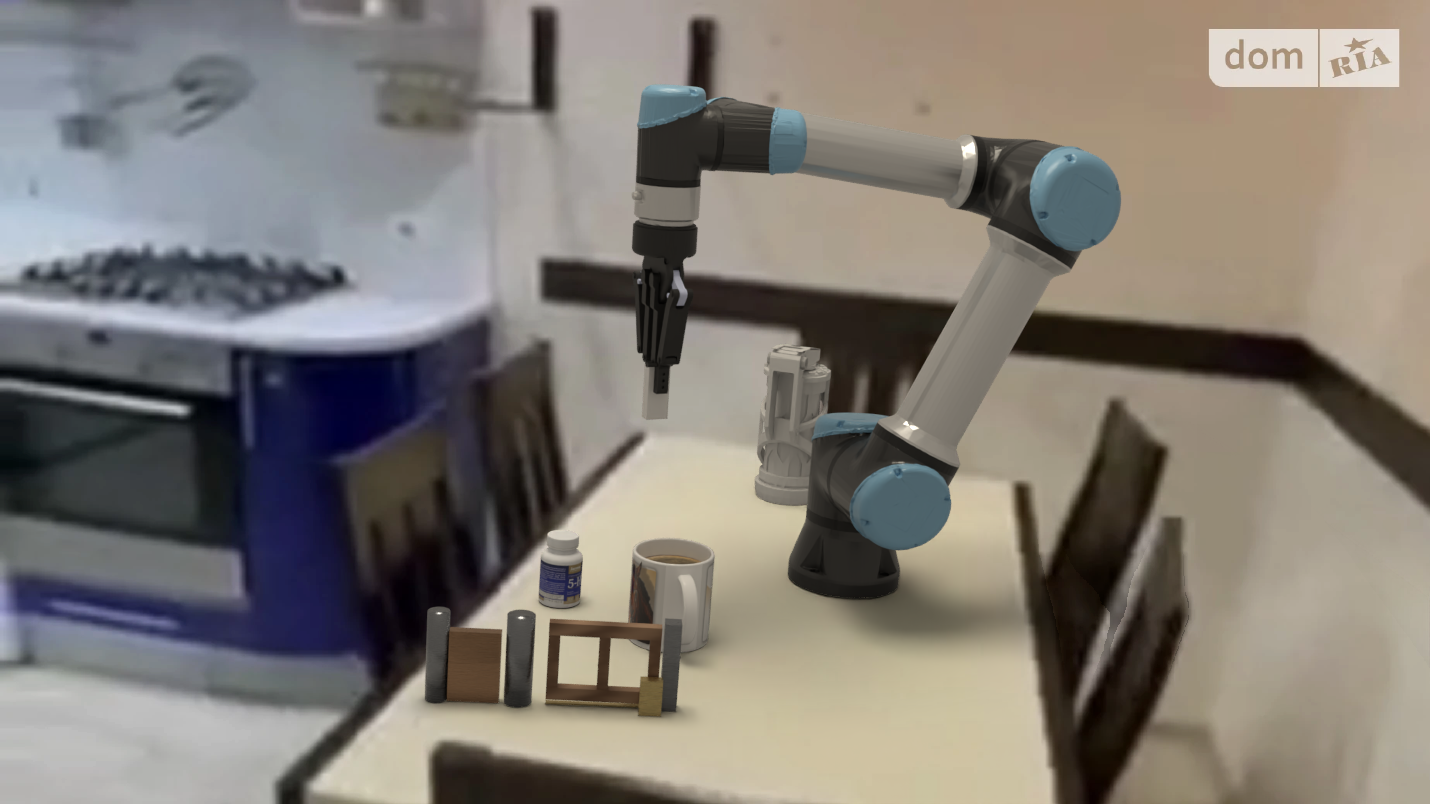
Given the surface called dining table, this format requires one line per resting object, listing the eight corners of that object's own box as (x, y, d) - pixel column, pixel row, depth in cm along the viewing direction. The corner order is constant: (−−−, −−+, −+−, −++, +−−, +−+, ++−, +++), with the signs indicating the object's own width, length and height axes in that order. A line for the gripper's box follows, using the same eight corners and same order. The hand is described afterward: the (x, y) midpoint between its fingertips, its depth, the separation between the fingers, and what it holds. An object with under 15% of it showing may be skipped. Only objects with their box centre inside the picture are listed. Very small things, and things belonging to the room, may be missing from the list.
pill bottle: (573, 611, 197) (577, 544, 195) (533, 605, 198) (536, 538, 196) (585, 597, 202) (589, 531, 200) (545, 591, 203) (549, 525, 201)
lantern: (764, 482, 257) (777, 331, 251) (826, 493, 254) (841, 340, 248) (739, 503, 245) (752, 345, 239) (804, 514, 242) (818, 355, 236)
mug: (724, 632, 194) (731, 547, 192) (691, 667, 183) (698, 577, 180) (644, 616, 197) (650, 532, 195) (607, 650, 186) (612, 561, 184)
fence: (656, 701, 173) (662, 616, 171) (656, 713, 171) (663, 626, 168) (426, 691, 172) (429, 605, 169) (423, 703, 169) (426, 615, 166)
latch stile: (675, 704, 173) (681, 619, 171) (676, 717, 170) (683, 630, 168) (637, 703, 173) (643, 617, 170) (638, 715, 170) (644, 628, 167)
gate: (545, 699, 170) (549, 622, 168) (546, 694, 171) (550, 618, 169) (656, 704, 171) (662, 628, 169) (656, 700, 172) (662, 624, 170)
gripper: (615, 212, 188) (605, 405, 193) (657, 229, 176) (646, 433, 182) (673, 212, 191) (662, 402, 197) (718, 229, 179) (705, 430, 185)
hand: (654, 417), depth 189 cm, fingers closed
